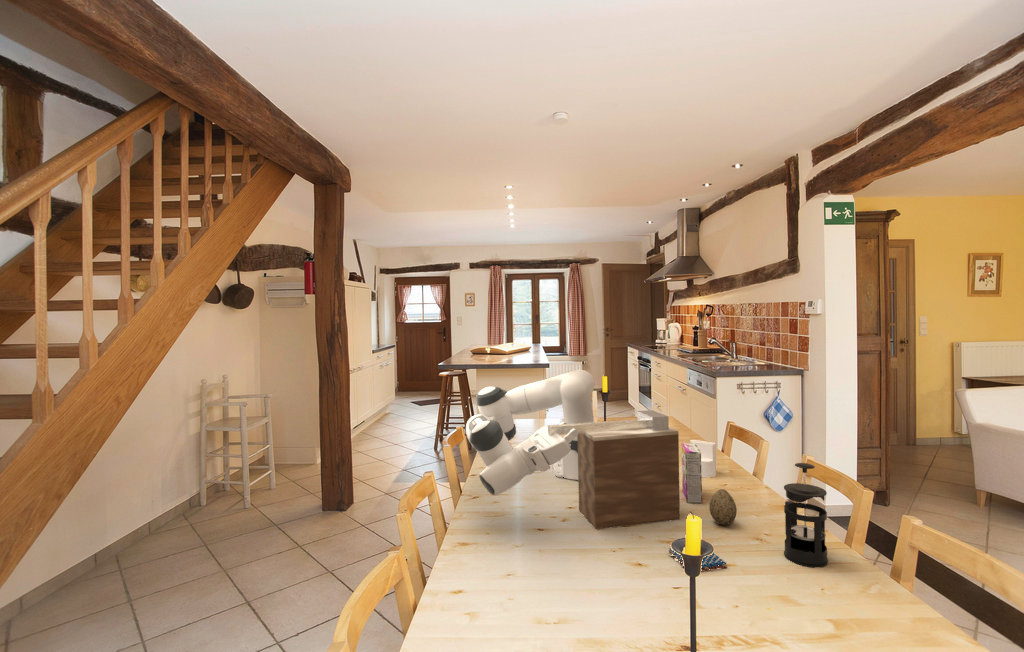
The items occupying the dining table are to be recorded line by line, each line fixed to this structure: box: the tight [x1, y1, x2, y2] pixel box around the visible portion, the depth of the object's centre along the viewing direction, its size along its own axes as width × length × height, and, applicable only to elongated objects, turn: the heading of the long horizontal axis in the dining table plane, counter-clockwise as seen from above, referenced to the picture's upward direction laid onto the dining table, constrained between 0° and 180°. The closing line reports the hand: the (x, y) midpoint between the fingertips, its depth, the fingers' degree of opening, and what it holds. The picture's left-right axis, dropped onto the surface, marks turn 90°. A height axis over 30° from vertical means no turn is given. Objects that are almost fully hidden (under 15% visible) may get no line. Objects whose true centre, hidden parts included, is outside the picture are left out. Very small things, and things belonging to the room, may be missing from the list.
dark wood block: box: [577, 426, 681, 530], centre depth 151 cm, size 14×26×26 cm, turn 102°
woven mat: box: [668, 548, 728, 572], centre depth 123 cm, size 10×11×2 cm
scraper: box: [547, 409, 670, 436], centre depth 149 cm, size 10×35×4 cm, turn 102°
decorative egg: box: [709, 488, 738, 526], centre depth 143 cm, size 7×7×10 cm
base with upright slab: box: [689, 439, 717, 479], centre depth 187 cm, size 9×9×12 cm
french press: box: [783, 462, 829, 569], centre depth 123 cm, size 12×9×23 cm
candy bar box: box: [680, 442, 703, 504], centre depth 164 cm, size 11×5×16 cm, turn 168°
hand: (571, 427), depth 147 cm, fingers open, 8 cm apart
